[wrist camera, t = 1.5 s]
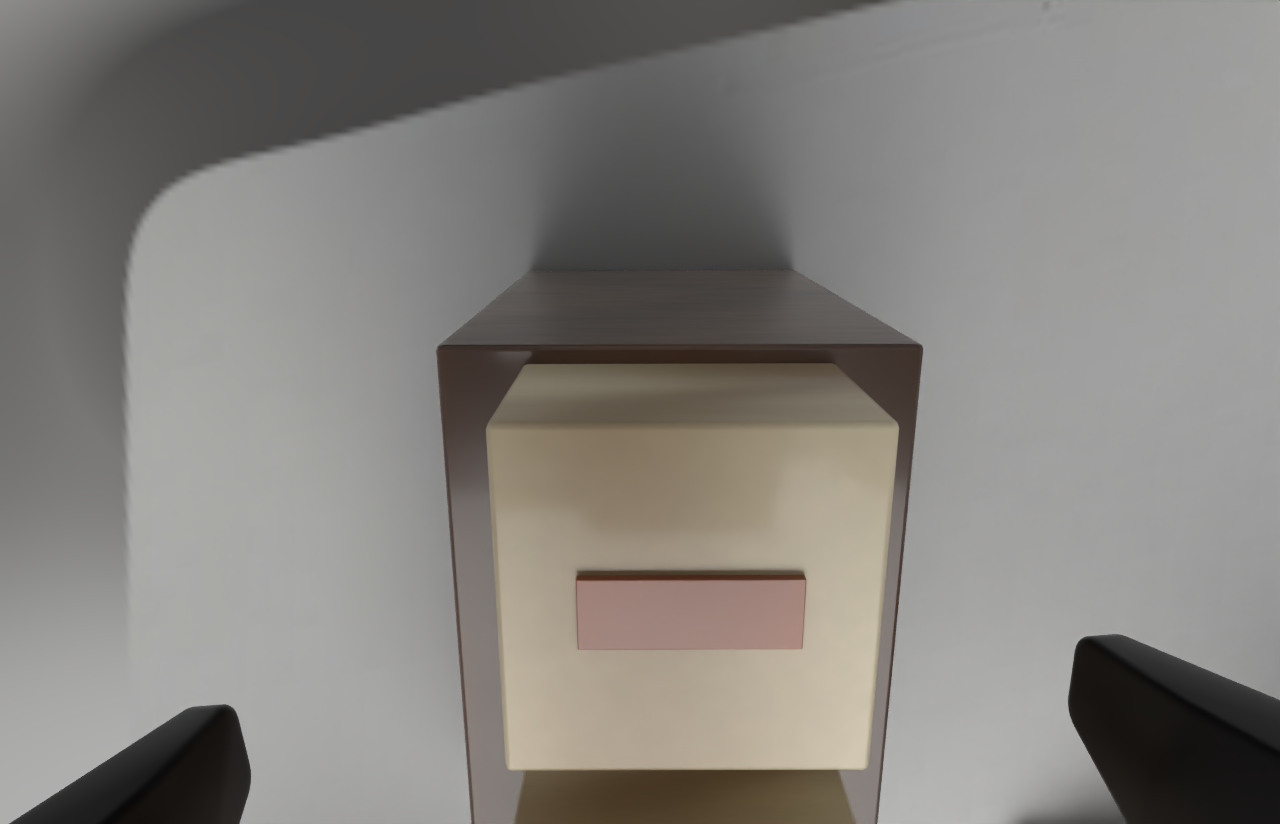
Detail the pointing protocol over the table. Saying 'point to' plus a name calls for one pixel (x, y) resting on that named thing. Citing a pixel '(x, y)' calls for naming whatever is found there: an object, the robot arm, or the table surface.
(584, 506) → the beige block with stripe
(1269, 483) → the table surface
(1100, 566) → the table surface
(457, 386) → the brown wooden box
